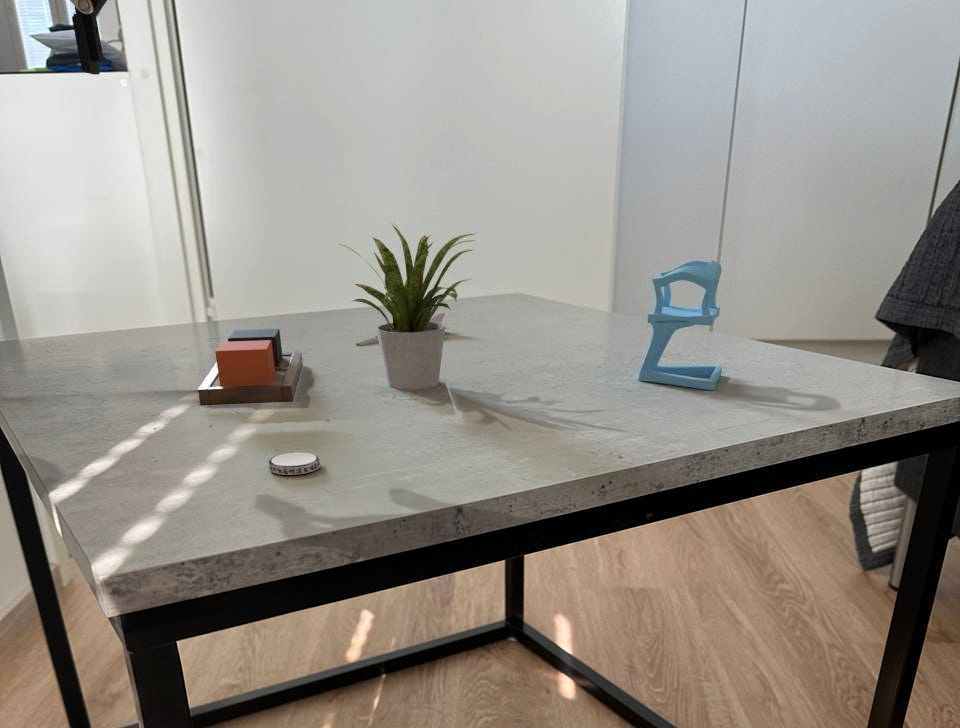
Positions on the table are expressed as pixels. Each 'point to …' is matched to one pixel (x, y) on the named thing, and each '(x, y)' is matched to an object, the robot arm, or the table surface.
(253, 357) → the terracotta cube
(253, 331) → the black block
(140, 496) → the table surface
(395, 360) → the house plant
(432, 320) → the toy airplane
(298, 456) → the white round disc
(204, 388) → the frame
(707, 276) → the chair
